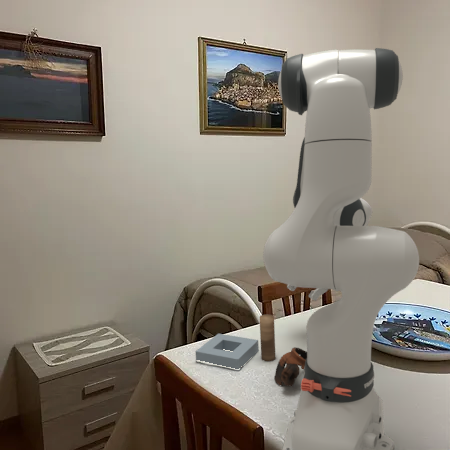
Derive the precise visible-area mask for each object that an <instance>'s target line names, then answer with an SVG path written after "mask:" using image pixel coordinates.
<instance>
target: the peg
mask: <svg viewBox="0 0 450 450" xmlns="http://www.w3.org/2000/svg"><path fill="white" fill-rule="evenodd" d="M259 333H260V355H261V356H260V359H261V360H262V361H263V360H264V362H273V361H275V360H276V359H277V358H276V339H275V338H276V337H275V336H276V334H275V316H274V315H272V314H267V313H266V314H261V315H260V316H259Z"/></svg>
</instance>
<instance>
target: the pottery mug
mask: <svg viewBox="0 0 450 450" xmlns="http://www.w3.org/2000/svg"><path fill="white" fill-rule="evenodd" d="M306 359H307V350H304V349H302V348H299V347H292V348H291V351H288V352H286V353H284V354H283V355H282V356H281V357H280V359H279V361H278V363H277V366H276V368H275V372H274V373H275V374H274V381H275V382H276V384H277V385H278V384H279V385H278V386H280V385H282V386H283V384H284V386H286V387H294V384H295V381H296V379H297V377H298V375H299V374H300V369H301V370H303V371H304V367H305V361H306Z"/></svg>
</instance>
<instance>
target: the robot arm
mask: <svg viewBox="0 0 450 450" xmlns="http://www.w3.org/2000/svg"><path fill="white" fill-rule="evenodd" d="M403 77H404V76H403V68H402V65H401V62H400V60H399V56H398V54H397V53H395V51H394V50H393V49H389V48H388V49H387V48H382V47H381V48H379V47H375V48H374V49H340V50H339V49H329V50H322V51H317V52H312V53H307V54H304V53H299V54H295V55H293V56H290V57H288V58H286V59H285V61H284V62H283V63H282V65H281V69H280V72H279V75H278V80H277V81H278V82H277V85H278V88H277V89H278V92H279V96H280V98H281V100H282V104H283V106H285V108H286V109H287V110H289V111H291V112H294V113H297V114H298V115H299V116H303V114H304V113H305V112H306V116H305V125H304V126H305V128H304V137H303V139H302V142H301V146H300V147H301V148H300V152H299V159H298V170H297V178H296V179H297V180H296V186H295V190H294V193H293V198H292V203H293V207H294V209H293V211H292V213H291V214H290V215H289V217H288V218H287V219H286V220H285V221H284V222H283V223H281V225H279V226H278V227H277V228H275V229H274V230H273V231H272V232H271V234H269V236H268V237H267V240H265V241H266V242H265V244H264V247H263V252H262V253H263V255H262V258H263V263H264V267H265V270H266V271H267V273H268V275H269V277H270V278H271V279H272V280H273V281H275V282H278V283H281V284H285V285H286V288H287V289H289V291H291V292H294V291H295V290H296V289H297V288H307V289H308V288H309V289H310V288H311V289H312V290H311V291H310V293H309V294H308V298H310V299H311V300H312V301H315V302H316V301H317V300H318V299H319V297H320V296H322V295H324V293H326V292H328V291H329V290H332V291H336V292H339V291H340V293H341V297H340V298H339V300H337V301H334V302H332V303H329V304H327V305H325V306H322V307H321V308H319V309H317V310H315V311H314V312H313V313H312V314H311V315H310V316H309V318H308V320H307V323H306V330H305V331H306V352H307V359H306V361H305V367H304V370H303V378H302V380H301V383H300V392H299V396H298V402H297V406H296V410H295V411H294V414H293V415H292V417H290V420H289V423H288V426H287V430H286V435H285V438H284V442H283V446H282V449H281V450H394V448H395V445H394V440H393V439H392V438H391V437H390V436H388V435H387V434H385V430H384V428H385V427H384V408H383V407H384V404H383V399H382V398H381V397H380V395H378V393H377V391H376V390H375V388H374V385H375V384H374V383H375V382H374V381H375V371H374V365H373V362H372V342H373V341H372V340H373V332H374V326H375V322H376V319H377V317H378V315H379V313H380V311H381V309H382V308H383V307H385V304H386V303H387V302H388V301H389V300H391V299H392V298H393V296H395V295H397V294H398V293H399V292H401V291H403V290H405V289H406V288H408V286H409V285H410V284H411V283H412V282H413V280H414V279H415V277H416V276H417V274H418V270H419V267H420V254H419V249H418V247H417V245H416V243H415V241H414V240H413V238H412V237H411V235H410V234H408V233H407V232H406V231H404V230H399V229H394V228H390V227H384V226H379V225H368V224H369V223H370V220H371V218H372V217H373V216H372V215H373V208H372V206H371V205H370V204H369V202H368V201H367V200H366V199H363V197H364V196H366V194H367V193H368V192H369V190H370V188H371V186H372V180H373V179H372V178H373V177H372V171H373V170H372V169H373V168H372V157H373V156H372V155H373V153H372V151H373V149H372V148H373V143H372V141H373V140H372V138H373V137H372V136H373V135H372V134H373V129H372V117H371V110H370V109H374V110H379V109H381V108H386V107H389V106H391V105H392V104H393V103H394V102H395V101H396V100H397V97H398V94H399V92H400V90H401V88H402V84H403V79H404V78H403ZM313 289H314V290H313Z"/></svg>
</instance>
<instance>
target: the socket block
mask: <svg viewBox="0 0 450 450" xmlns="http://www.w3.org/2000/svg"><path fill="white" fill-rule="evenodd" d="M223 349H225V350H230V351H233V352H230V351H225V350H223ZM259 349H260V347H259V339H255V338H248V337H242V336H235V335H229V334H224V333H223V334H222V333H217V334H216V335H215V336H213V337H212V338H211V339H209V340H208V341H207V342H205V343H204V344H203V345H202V346H201V347H198V349H197V350H196V351H195V361H196V360H200V361H205V362H209V363H213V364H217V365H222V366H226V367H231V368H235V369H239V368H241V366H243V365H244V364H245V363H246V362H247V361H248V360H249V359H250V358H251V357H252V358H253V357H254V356H255V355H256V354H257V353H259V351H260V350H259ZM252 358H251V359H252ZM251 359H250V360H251ZM250 360H249V361H250ZM249 361H248V362H249ZM248 362H247V363H248ZM247 363H246V364H247ZM246 364H245V365H246ZM245 365H244V366H245ZM244 366H243V367H244ZM241 369H242V368H241Z"/></svg>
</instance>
